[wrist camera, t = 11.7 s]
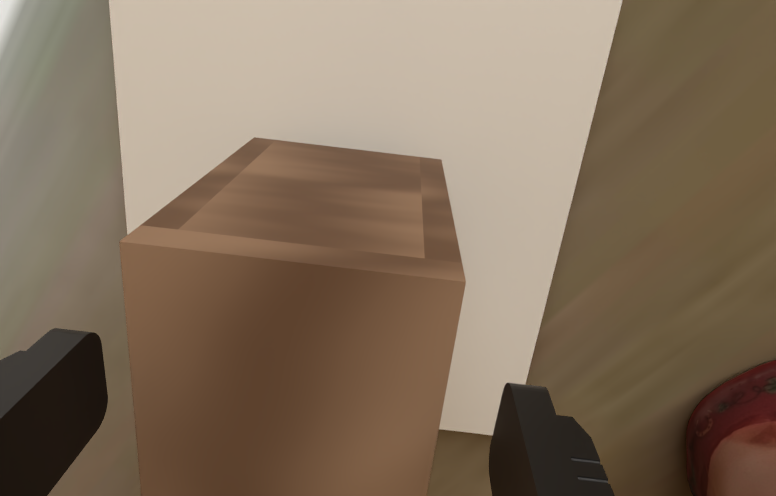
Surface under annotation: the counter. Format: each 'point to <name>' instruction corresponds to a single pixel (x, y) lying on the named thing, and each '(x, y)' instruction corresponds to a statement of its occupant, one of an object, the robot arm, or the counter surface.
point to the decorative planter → (735, 437)
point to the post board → (386, 127)
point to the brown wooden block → (294, 325)
